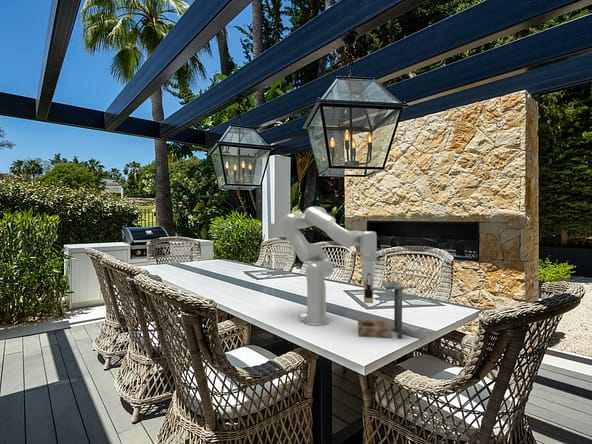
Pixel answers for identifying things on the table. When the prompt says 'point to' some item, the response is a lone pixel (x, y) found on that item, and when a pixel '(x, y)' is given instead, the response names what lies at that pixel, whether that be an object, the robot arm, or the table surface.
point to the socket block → (382, 327)
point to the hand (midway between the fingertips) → (368, 296)
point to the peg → (366, 300)
